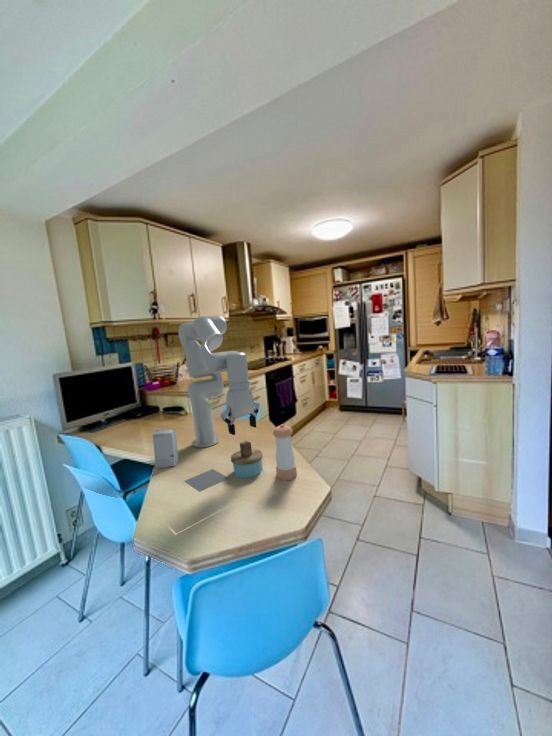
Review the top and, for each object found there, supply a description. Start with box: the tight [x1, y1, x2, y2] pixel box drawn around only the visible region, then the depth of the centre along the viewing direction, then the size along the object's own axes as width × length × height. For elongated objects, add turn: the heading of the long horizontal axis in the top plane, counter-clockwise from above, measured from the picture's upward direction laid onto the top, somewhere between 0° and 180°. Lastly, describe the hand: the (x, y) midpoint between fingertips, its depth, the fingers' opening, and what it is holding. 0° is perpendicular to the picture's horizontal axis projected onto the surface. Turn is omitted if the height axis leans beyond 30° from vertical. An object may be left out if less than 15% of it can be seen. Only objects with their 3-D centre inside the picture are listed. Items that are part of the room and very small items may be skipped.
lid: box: [230, 440, 264, 465], centre depth 115 cm, size 12×12×6 cm
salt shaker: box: [272, 423, 298, 481], centre depth 109 cm, size 7×7×19 cm
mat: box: [184, 468, 230, 493], centre depth 112 cm, size 12×12×1 cm
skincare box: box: [152, 428, 179, 469], centre depth 129 cm, size 8×6×15 cm
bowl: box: [232, 458, 264, 479], centre depth 116 cm, size 11×11×6 cm
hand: (243, 430), depth 115 cm, fingers open, 9 cm apart
